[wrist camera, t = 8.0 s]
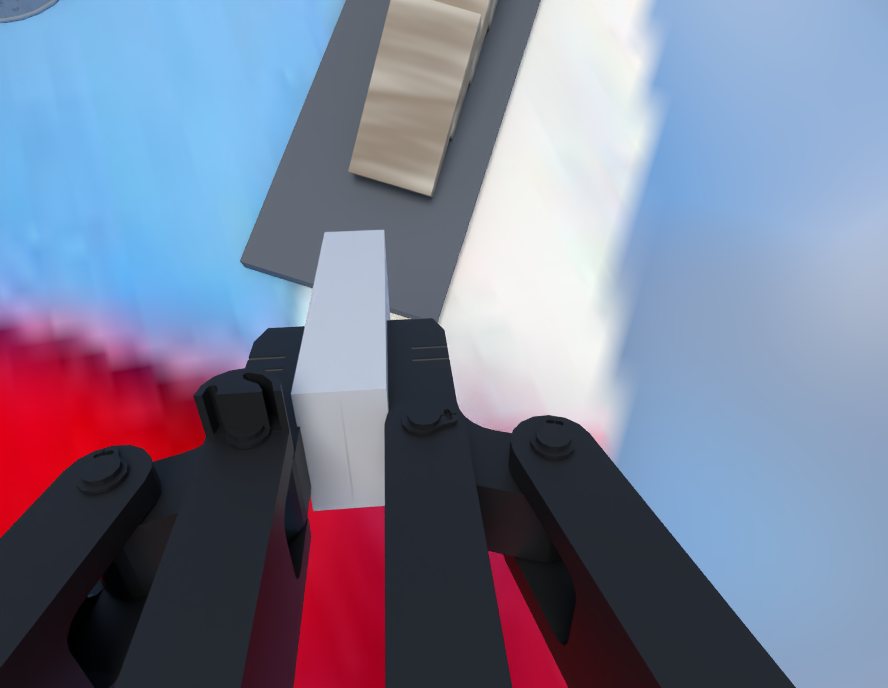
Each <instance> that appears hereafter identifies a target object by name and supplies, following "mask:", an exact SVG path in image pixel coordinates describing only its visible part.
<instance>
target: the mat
mask: <svg viewBox="0 0 888 688" xmlns="http://www.w3.org/2000/svg"><path fill="white" fill-rule="evenodd" d="M390 1H391V0H346V2H345V4H344V7H343V9H342V12H341V14H340V17H339V19H338V21H337V24H336V26H335V29H334V31H333V34H332V36H331V39H330V41H329V44H328V46H327V49H326V51H325V53H324V56H323V58H322V61H321V63H320V66H319V68H318V71H317V73H316V76H315V78H314V80H313V83H312V85H311V88H310V90H309V93H308V95H307V98H306V100H305V103H304V105H303V107H302V110H301V112H300V115H299V117H298V120H297V122H296V125H295V127H294V130H293V132H292V135H291V137H290V139H289V142H288V144H287V147H286V149H285V152H284V154H283V157H282V159H281V162H280V164H279V166H278V169H277V171H276V174H275V176H274V179H273V181H272V184H271V186H270V189H269V191H268V194H267V196H266V198H265V201H264V203H263V206H262V208H261V211H260V213H259V216H258V218H257V221H256V223H255V225H254V228H253V230H252V233H251V235H250V238H249V240H248V243H247V245H246V248H245V250H244V252H243V255H242V257H241V260H240V262H241V263H242V264H243V265H244V267H246V268H250V269H253V270H256V271H259V272H263V273H266V274H269V275H272V276H275V277H279V278H282V279H285V280H288V281H292V282H295V283H298V284H301V285H304V286H308V287H311V288H313V285H314V281H315V276H316V271H317V266H318V261H319V257H320V252H321V247H322V242H323V237H324V232H340V231H365V230H384V234H385V249H386V264H387V279H388V294H389V309H390V312H391V313H395V314H398V315H401V316H404V317H408V318H411V319H425V318H433V319H434V320H435V321H436V322H438V318H439V315H440V312H441V309H442V306H443V303H444V300H445V297H446V293H447V290H448V287H449V284H450V281H451V278H452V275H453V272H454V268H455V265H456V262H457V259H458V256H459V253H460V250H461V247H462V243H463V240H464V237H465V234H466V231H467V228H468V225H469V221H470V218H471V215H472V212H473V209H474V206H475V203H476V200H477V196H478V193H479V190H480V187H481V184H482V181H483V178H484V175H485V171H486V168H487V165H488V162H489V159H490V156H491V153H492V150H493V146H494V143H495V140H496V137H497V134H498V131H499V128H500V125H501V121H502V118H503V115H504V112H505V109H506V106H507V103H508V99H509V96H510V93H511V90H512V87H513V84H514V81H515V78H516V74H517V71H518V68H519V65H520V62H521V59H522V56H523V53H524V49H525V46H526V43H527V40H528V37H529V34H530V31H531V28H532V24H533V21H534V18H535V15H536V12H537V9H538V6H539V2H540V0H498V3H497V6H496V10H495V13H494V17H493V20H492V23H491V27H490V30H489V31H487V32H486V35H485V39H484V42H483V45H482V49H481V52H480V56H479V59H478V63H477V66H476V69H475V73H474V76H473V80H472V83H471V86H470V85H468V88H467V91H466V95H465V98H464V102H463V105H462V109H461V112H460V116H459V119H458V123H457V126H456V130H455V133H454V137H453V140H451V139H449V142H448V146H447V149H446V153H445V156H444V160H443V164H442V167H441V171H440V174H439V178H438V182H437V185H436V189H435V192H434V196H433V198H432V197H429V196H425V195H422V194H419V193H415V192H412V191H409V190H405V189H402V188H399V187H395V186H392V185H389V184H385V183H382V182H379V181H375V180H372V179H368V178H365V177H362V176H358V175H355V174H353V173H350V172H348V170H349V166H350V162H351V158H352V154H353V150H354V146H355V142H356V138H357V134H358V130H359V126H360V121H361V117H362V113H363V109H364V105H365V101H366V97H367V93H368V89H369V85H370V81H371V77H372V73H373V69H374V65H375V61H376V57H377V53H378V49H379V45H380V41H381V37H382V33H383V29H384V25H385V21H386V17H387V13H388V9H389V5H390Z"/></svg>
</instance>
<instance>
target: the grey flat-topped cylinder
mask: <svg viewBox="0 0 888 688" xmlns="http://www.w3.org/2000/svg"><path fill="white" fill-rule="evenodd" d="M58 1H59V0H0V22H3V23H6V22H12V21H18V20H23V19H26V18H29V17H32V16H34V15H37V14H40V13H41V12H43V11H45V10H46V9H48V8H50V7H52V6H53V5H54V4H56V3H57V2H58Z"/></svg>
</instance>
